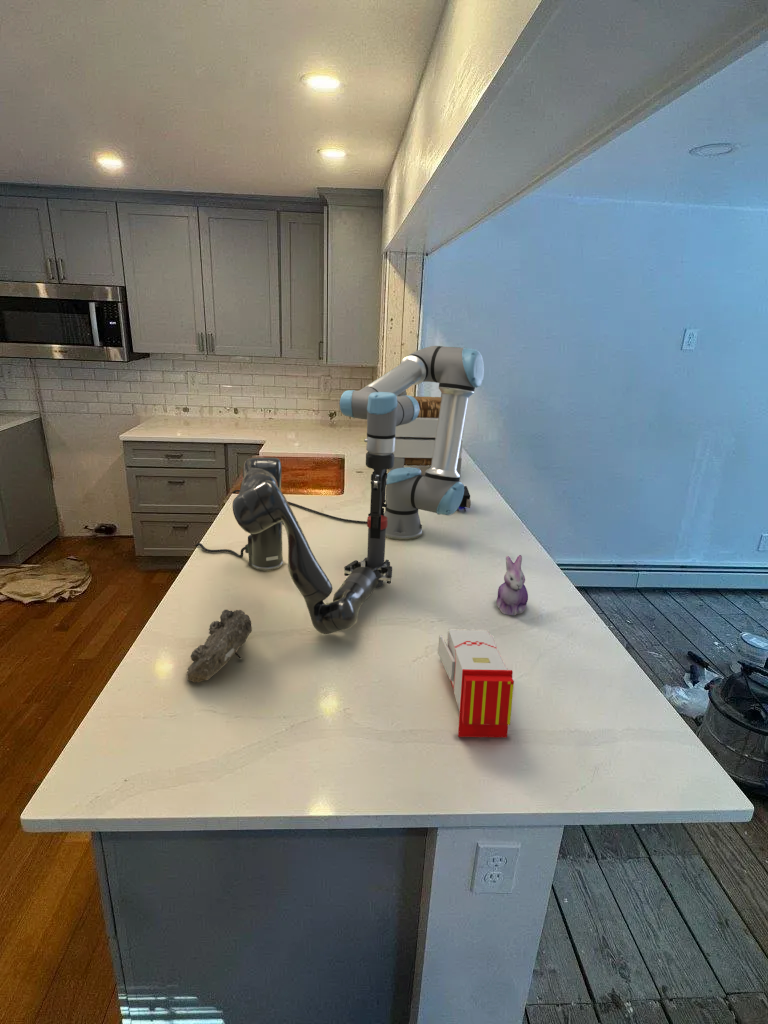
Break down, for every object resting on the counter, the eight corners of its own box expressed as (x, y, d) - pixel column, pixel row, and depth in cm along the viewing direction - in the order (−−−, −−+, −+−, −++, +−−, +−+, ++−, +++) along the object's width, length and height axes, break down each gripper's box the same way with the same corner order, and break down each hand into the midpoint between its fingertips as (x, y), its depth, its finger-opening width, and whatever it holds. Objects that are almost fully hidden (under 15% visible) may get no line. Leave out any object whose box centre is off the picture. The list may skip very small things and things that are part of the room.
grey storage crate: (382, 463, 289) (386, 382, 275) (445, 464, 293) (451, 384, 279) (390, 482, 257) (394, 392, 243) (460, 483, 261) (468, 394, 247)
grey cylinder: (384, 588, 161) (387, 523, 154) (366, 588, 160) (369, 523, 154) (382, 580, 165) (385, 517, 159) (365, 580, 165) (367, 517, 158)
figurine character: (470, 516, 223) (465, 500, 237) (473, 499, 220) (467, 484, 233) (453, 516, 223) (449, 500, 236) (455, 498, 220) (451, 483, 233)
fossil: (206, 612, 136) (251, 583, 131) (234, 639, 138) (279, 612, 133) (166, 676, 116) (217, 644, 111) (199, 706, 119) (250, 677, 114)
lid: (364, 527, 155) (364, 519, 154) (371, 521, 160) (371, 513, 159) (383, 531, 153) (383, 522, 153) (390, 524, 158) (390, 516, 157)
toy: (488, 613, 130) (523, 677, 101) (484, 667, 133) (517, 744, 104) (435, 612, 130) (455, 676, 101) (432, 666, 133) (451, 743, 103)
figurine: (510, 620, 147) (517, 567, 142) (486, 602, 155) (492, 552, 150) (538, 612, 151) (545, 561, 146) (513, 595, 159) (519, 546, 154)
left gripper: (385, 578, 145) (403, 553, 160) (333, 568, 148) (355, 545, 164) (383, 604, 147) (401, 577, 162) (332, 594, 151) (354, 568, 166)
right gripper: (371, 443, 159) (368, 521, 166) (360, 459, 141) (357, 545, 149) (398, 445, 158) (393, 523, 166) (390, 462, 141) (386, 547, 148)
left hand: (378, 561), depth 163 cm, fingers closed on grey cylinder, 5 cm apart
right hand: (376, 533), depth 157 cm, fingers closed on lid, 5 cm apart
